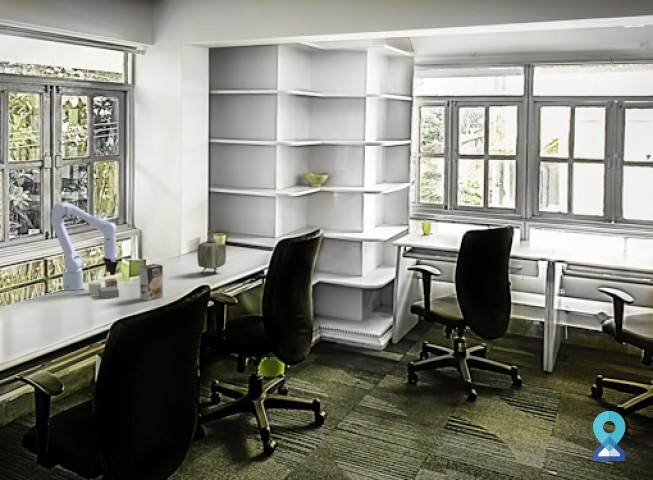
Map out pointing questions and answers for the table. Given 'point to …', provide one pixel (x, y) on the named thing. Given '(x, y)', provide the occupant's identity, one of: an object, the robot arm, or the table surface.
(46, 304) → the table surface
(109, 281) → the walnut cube
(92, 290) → the sage cube
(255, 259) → the table surface
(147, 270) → the coffee box
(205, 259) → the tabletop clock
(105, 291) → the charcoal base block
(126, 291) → the table surface
